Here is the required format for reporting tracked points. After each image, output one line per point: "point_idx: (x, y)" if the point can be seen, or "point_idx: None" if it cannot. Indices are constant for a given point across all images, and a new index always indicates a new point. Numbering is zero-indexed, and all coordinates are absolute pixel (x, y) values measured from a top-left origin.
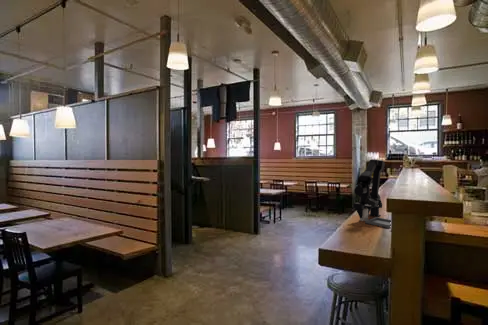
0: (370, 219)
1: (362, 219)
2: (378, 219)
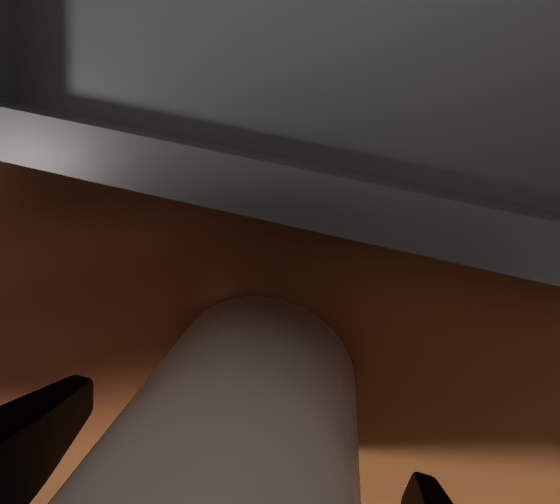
0: (437, 209)
1: (356, 418)
2: (3, 66)
